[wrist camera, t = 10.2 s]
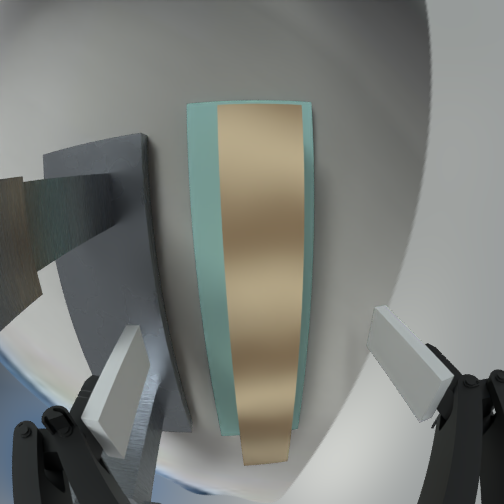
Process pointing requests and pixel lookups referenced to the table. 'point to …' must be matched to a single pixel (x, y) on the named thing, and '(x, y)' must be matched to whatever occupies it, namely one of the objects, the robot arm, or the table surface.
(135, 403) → the robot arm
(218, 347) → the mat
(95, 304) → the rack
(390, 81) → the table surface
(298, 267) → the rail
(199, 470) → the table surface
